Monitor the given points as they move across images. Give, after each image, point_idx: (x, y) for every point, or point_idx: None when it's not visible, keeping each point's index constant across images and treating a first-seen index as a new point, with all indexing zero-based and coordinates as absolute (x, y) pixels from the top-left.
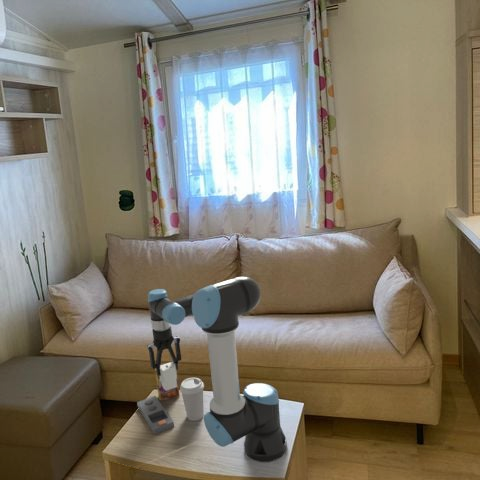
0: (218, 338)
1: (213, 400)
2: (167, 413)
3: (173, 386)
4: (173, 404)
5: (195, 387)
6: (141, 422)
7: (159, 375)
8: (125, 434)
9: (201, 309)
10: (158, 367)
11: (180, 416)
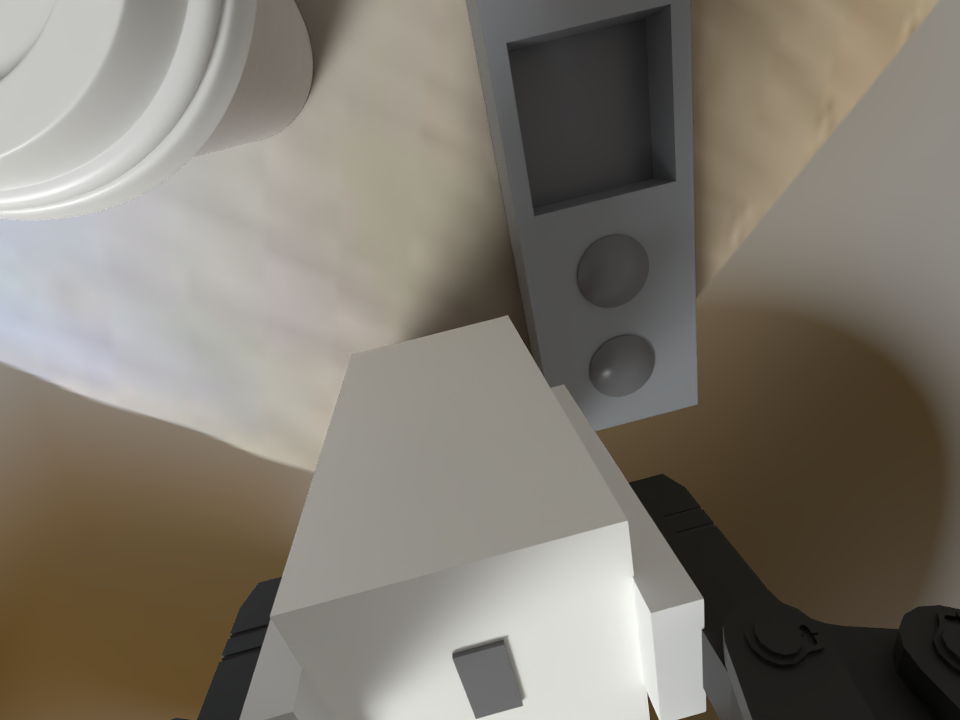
0: None
1: None
2: (502, 128)
3: (400, 351)
4: (424, 330)
5: None
6: (700, 180)
7: (645, 482)
8: (854, 59)
9: None
10: (795, 653)
11: (380, 123)
